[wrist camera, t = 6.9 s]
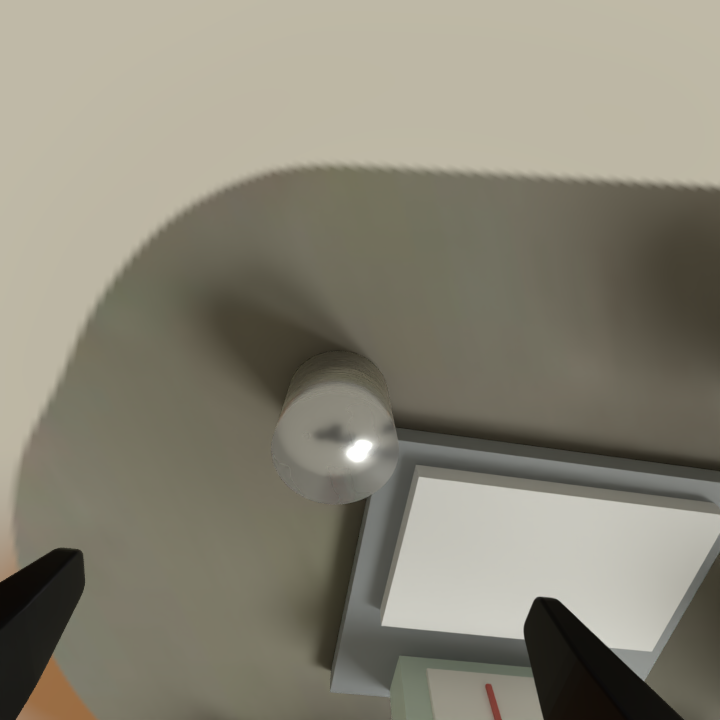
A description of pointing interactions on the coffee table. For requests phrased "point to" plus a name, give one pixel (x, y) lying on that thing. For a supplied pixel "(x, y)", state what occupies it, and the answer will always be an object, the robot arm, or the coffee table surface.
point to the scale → (514, 569)
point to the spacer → (336, 430)
